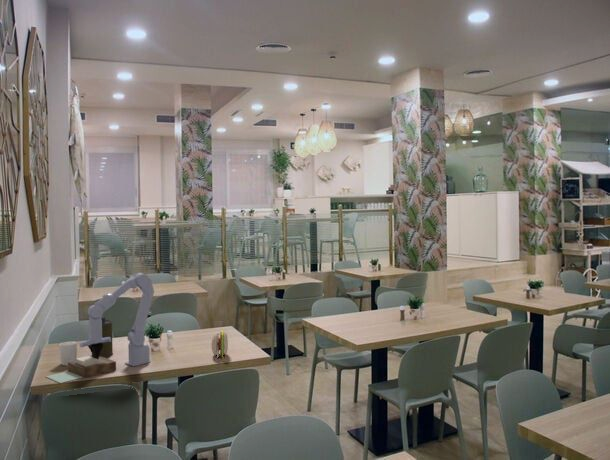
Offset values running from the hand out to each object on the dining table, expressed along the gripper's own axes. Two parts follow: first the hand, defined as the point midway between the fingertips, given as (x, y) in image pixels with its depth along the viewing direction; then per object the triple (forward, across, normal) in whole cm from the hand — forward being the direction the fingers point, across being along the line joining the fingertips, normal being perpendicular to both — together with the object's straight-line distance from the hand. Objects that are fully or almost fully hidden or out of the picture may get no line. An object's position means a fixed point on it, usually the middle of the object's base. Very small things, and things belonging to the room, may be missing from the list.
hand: (95, 359), depth 243 cm
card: (+1, +4, 0) cm, 5 cm away
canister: (+5, -14, -21) cm, 26 cm away
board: (+5, +2, 0) cm, 5 cm away
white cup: (+5, +4, -20) cm, 21 cm away
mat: (+5, +15, 0) cm, 16 cm away
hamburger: (+5, -53, +27) cm, 59 cm away
